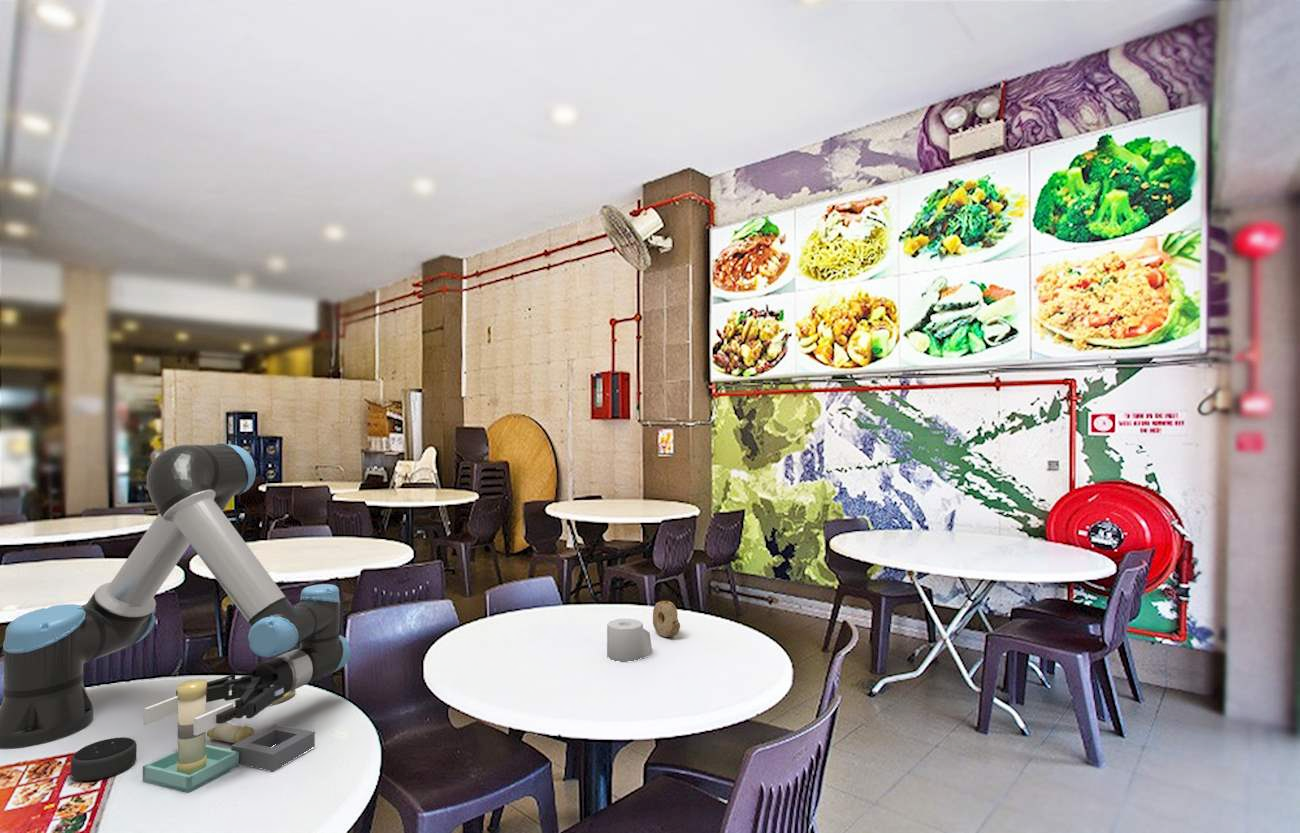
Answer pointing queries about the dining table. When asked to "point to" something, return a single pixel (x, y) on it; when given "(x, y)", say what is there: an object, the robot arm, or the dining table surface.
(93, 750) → the smart speaker
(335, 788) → the dining table surface
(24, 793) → the dining table surface
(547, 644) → the dining table surface
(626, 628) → the toilet tissue
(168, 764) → the parts tray
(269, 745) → the socket block
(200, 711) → the fuse
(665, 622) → the stone disc
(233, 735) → the fuse
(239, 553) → the robot arm
